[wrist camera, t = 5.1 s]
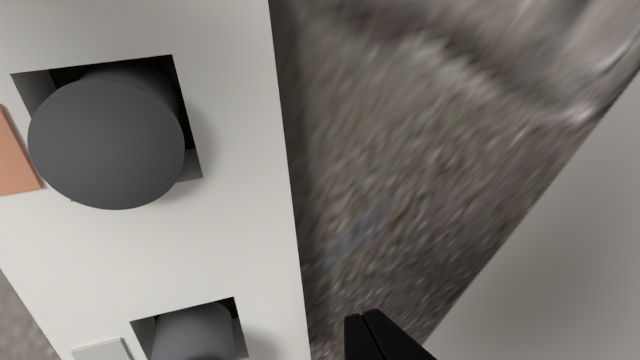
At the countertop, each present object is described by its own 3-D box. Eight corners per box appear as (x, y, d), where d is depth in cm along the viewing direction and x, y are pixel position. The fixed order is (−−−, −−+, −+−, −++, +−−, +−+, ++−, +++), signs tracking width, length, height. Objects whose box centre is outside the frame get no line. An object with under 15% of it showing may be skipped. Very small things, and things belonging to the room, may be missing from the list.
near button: (197, 145, 18) (197, 196, 15) (91, 162, 17) (62, 221, 14) (171, 43, 16) (164, 73, 12) (47, 57, 15) (-3, 95, 11)
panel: (301, 327, 27) (312, 369, 24) (114, 376, 25) (104, 428, 22) (252, -41, 15) (264, -38, 13) (-108, -12, 13) (-187, -1, 10)
